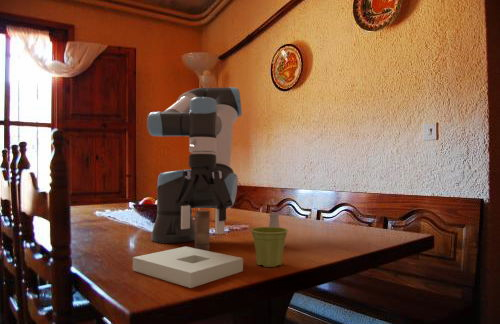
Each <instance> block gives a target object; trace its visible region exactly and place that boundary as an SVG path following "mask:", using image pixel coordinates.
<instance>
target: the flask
mask: <svg viewBox="0 0 500 324" xmlns="http://www.w3.org/2000/svg"><path fill="white" fill-rule="evenodd" d="M268 216H269V217H270V218H269V225H268V227H279V228H281V227H280V222H279V221H280V220H279V217H280V213H276V212H271V213H268ZM284 247H286V242H285V243H284Z"/></svg>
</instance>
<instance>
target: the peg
mask: <svg viewBox="0 0 500 324" xmlns="http://www.w3.org/2000/svg"><path fill="white" fill-rule="evenodd" d="M210 218H211V217H210V211H209V210H195V211H194V224H195V240H194V248H196V249H201V250H206V251H210V224H211V223H210Z"/></svg>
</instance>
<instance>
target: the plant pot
mask: <svg viewBox="0 0 500 324" xmlns="http://www.w3.org/2000/svg"><path fill="white" fill-rule="evenodd" d="M250 232H251V234H252V235H251V236H252V238H253V243H254V250H255V257H256V258H255V260H256V264H257V265H258V266H263V267H265V268H275V267H277V266H282V264H283V256H284V250H285V249H284V248H285V246H284V243H285V244H286V241H285V240H286V238H287V235H288V232H289V229H288V228H285V227H280V228H279V227H269V226H260V227H253V228H251V229H250Z"/></svg>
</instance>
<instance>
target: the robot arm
mask: <svg viewBox="0 0 500 324" xmlns="http://www.w3.org/2000/svg"><path fill="white" fill-rule="evenodd" d="M242 111H243V110H242V101H241V93H240V89H239V88H238V87H234V86H233V87H231V86H228V87H227V86H226V87H225V86H224V87H221V86H220V87H215V86H214V87H213V86H212V87H208V86H207V87H205V86H204V87H197V88H192V89H191V90H188V91H186V92H184V93H182V94H180V95H179V97H178V98H177V99H176V102H174V103H173V104H172V105H170V106H169V107H168V108H166V109H165V110H164V111H159V110H158V111H151V112H150V113H149V114H148V115H147V121H146V127H147V130H148V133H149V135H150V136H151V137H161V138H162V137H188V140H189V142H188V146H189V147H188V152H189V153H190V154H189V155H188V167H189V168H191V169H181V170H172V171H165V172H160V174H159V175H158V177H157V186H156V189H157V190H156V194H157V195H156V204H157V205H156V208H157V209H156V219H155V221H154V224H153V229H152V231H151V236H150V237H151V241H152V242H155V243H161V244H177V243H178V244H179V243H181V244H182V243H189V242H192V241H193V242H194V241H195V220H194V217H193V209H214V211H215V212H214V213H215V214H214V215H215V216H214V217H215V219H214V220H215V222H214V223H215V224H214V225H215V226H214V234H215V235H221V234H225V221H226V220H227V209H230V208H232V207H233V206H234V203H235V201H236V198H237V192H238V183H239V182H238V180H239V179H238V175H237V174H236V173H234V169H233V168H232V167H231V159H232V158H231V157H232V146H233V145H232V144H233V135H234V134H233V133H234V131H233V130H234V123H236V121H238V117H241V116H242V115H243V114H242Z"/></svg>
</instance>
